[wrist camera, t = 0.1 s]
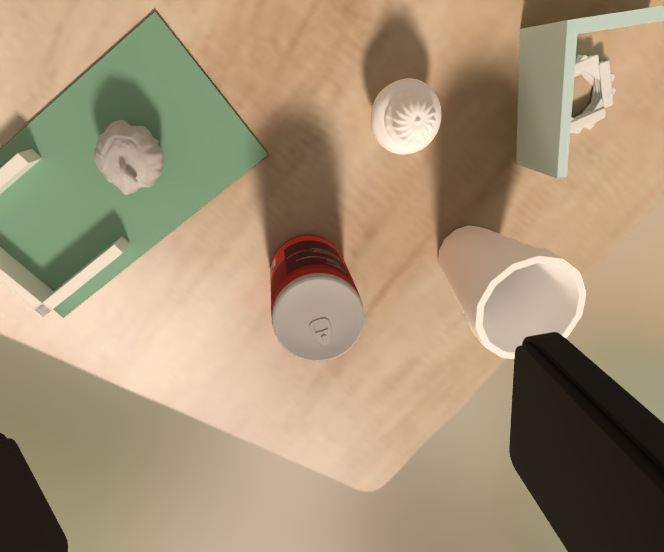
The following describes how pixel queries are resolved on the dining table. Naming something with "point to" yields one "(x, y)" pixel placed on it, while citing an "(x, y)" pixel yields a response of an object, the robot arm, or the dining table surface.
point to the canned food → (314, 300)
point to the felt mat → (90, 183)
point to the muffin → (406, 116)
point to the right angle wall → (563, 86)
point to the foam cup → (510, 288)
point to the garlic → (129, 156)
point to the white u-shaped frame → (21, 279)
